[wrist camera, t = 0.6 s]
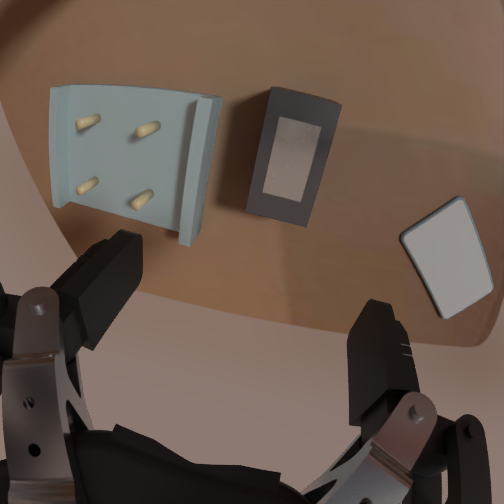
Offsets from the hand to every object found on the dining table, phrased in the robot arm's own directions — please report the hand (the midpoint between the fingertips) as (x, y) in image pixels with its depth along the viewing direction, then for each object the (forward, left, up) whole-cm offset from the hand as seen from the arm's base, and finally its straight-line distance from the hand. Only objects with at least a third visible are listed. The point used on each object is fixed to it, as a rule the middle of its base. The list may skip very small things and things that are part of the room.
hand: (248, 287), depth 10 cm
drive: (-1, 0, -19) cm, 19 cm away
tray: (+3, -16, -19) cm, 24 cm away
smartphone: (+5, +21, -19) cm, 29 cm away
